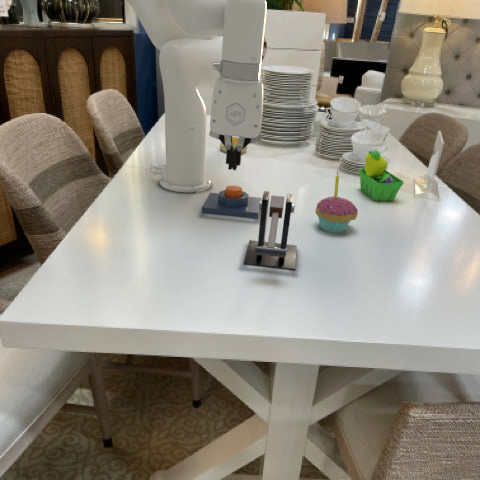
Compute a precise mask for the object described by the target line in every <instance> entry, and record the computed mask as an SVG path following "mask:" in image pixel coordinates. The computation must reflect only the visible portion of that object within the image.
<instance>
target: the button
mask: <svg viewBox="0 0 480 480" xmlns="http://www.w3.org/2000/svg"><path fill="white" fill-rule="evenodd" d="M225 190H226V192H225V196H228V197H233V198H238V197H242V191H243V188H242V187H241V186H238V185H227V186H226V187H225Z"/></svg>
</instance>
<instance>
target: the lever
mask: <svg viewBox="0 0 480 480" xmlns="http://www.w3.org/2000/svg"><path fill="white" fill-rule="evenodd" d="M269 203H270V205H269V210H268V217H269V218H271V220H270V227H269V234H268V241H267V242H268V247H266V246H257V245H256V246H255V254H256V255H265V256H274V257H282V258H286V251H287V249H284V248H275V243H276V240H277V230H278V225H279V224H278V223H279V219H283V212H284V205H285V204H284V203H285V196H282V195H271V196H270V201H269Z"/></svg>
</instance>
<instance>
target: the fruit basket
mask: <svg viewBox="0 0 480 480" xmlns="http://www.w3.org/2000/svg"><path fill="white" fill-rule="evenodd" d="M387 167H388V161H387V160H386V159H385V157H383V156H382V155H381V153H380V151H379V150H376V149H374V150H369V151H368V153H367V154H366V156H365V158H364V168H358V172H359V182H360V183H359V185H360V190H361V191H362V192H364V194H366V195H367V196H369V197H370V198H371V199H372V200H373V201H375V202H378V201H379V202H384V201H386V202H388V201H394V200H395V198H396V197H397V194H398V192H400V189H401V187H403V185H404V183H405V182H404V180H402V179H401V178H398V177H397V176H395V175H394V174H393V173H391V172H390V171H388V170H386V169H387Z"/></svg>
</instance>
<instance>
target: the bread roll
mask: <svg viewBox="0 0 480 480" xmlns="http://www.w3.org/2000/svg"><path fill="white" fill-rule="evenodd" d="M232 140H233V145H234V148H235V147H236V145H237V144H238V140H239V137H237V136H232ZM219 148H220V150H222V151H223V152H224V153H225V154H227V149H226V148H225V146H224V145H223V143H222V142H221V141H220V144H219ZM247 150H248V145H247V146H246V147H245V148H244V149H242V153H241V154H244V153H245V152H246V151H247Z"/></svg>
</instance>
